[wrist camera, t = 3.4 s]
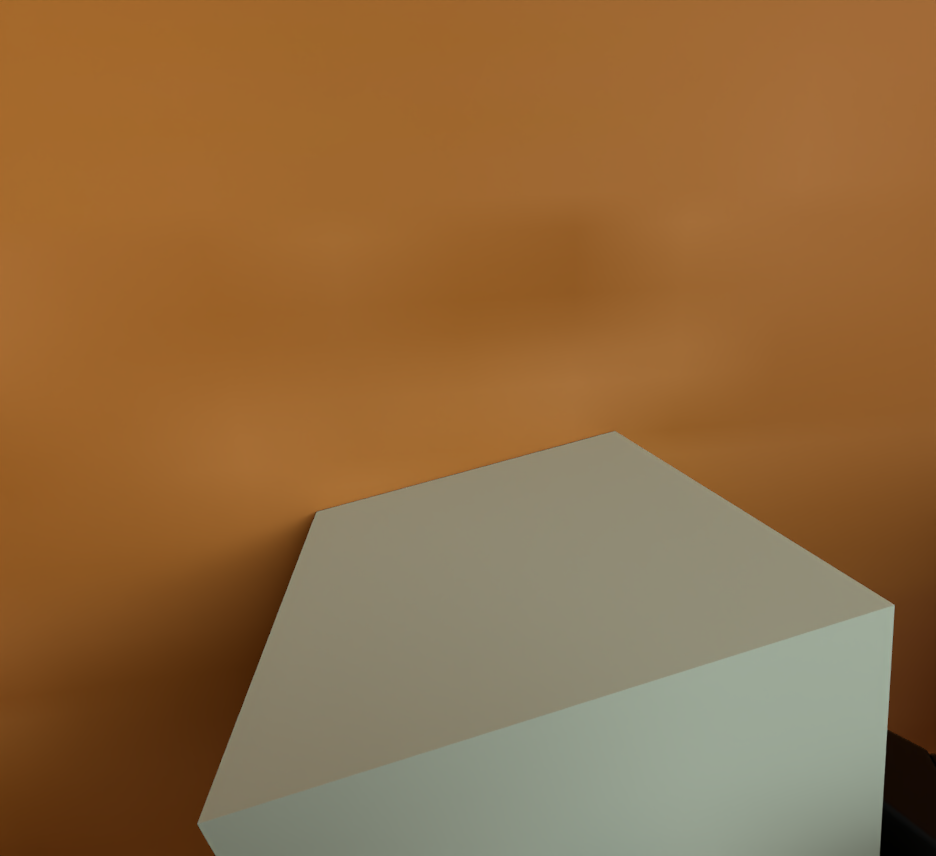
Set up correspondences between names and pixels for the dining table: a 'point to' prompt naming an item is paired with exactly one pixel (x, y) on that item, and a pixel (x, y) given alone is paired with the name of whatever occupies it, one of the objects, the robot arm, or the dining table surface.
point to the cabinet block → (560, 677)
